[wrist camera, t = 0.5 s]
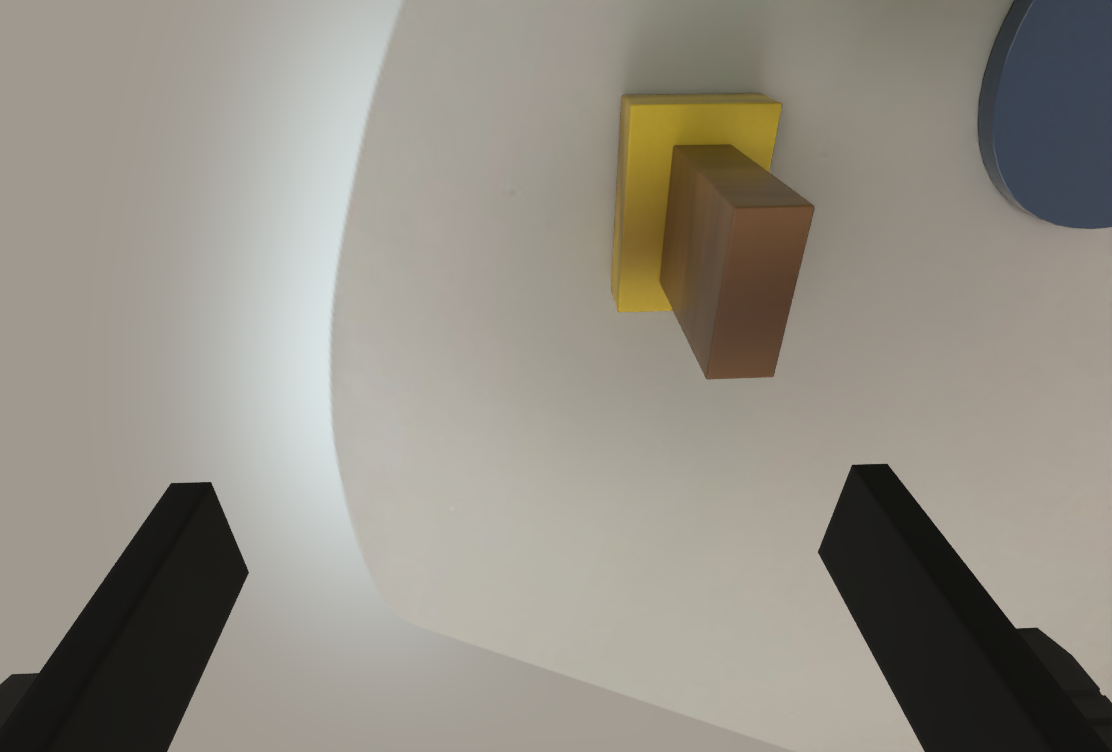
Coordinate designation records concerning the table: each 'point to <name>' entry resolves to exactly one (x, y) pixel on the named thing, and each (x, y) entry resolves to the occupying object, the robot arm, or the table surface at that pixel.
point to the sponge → (708, 225)
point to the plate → (1051, 111)
